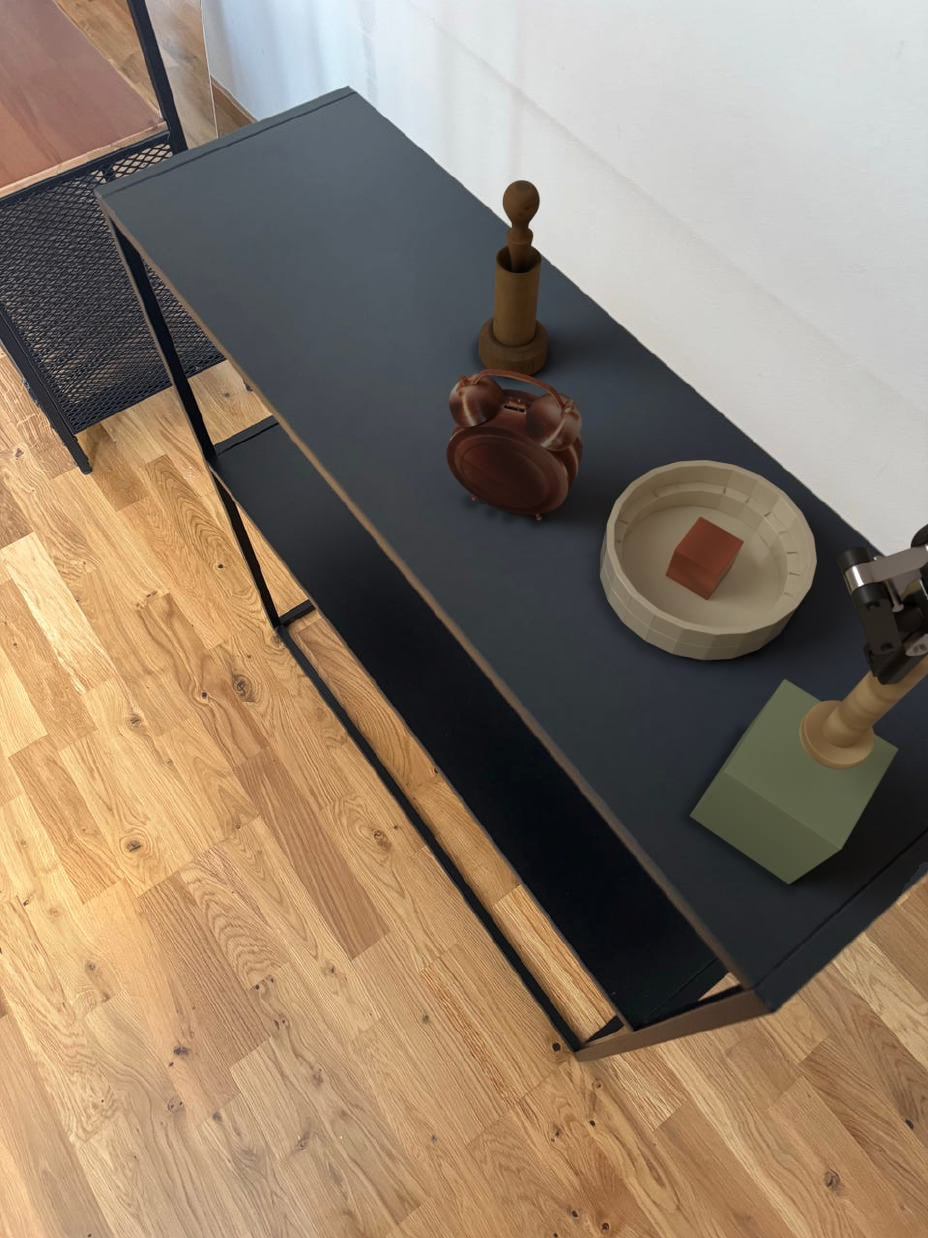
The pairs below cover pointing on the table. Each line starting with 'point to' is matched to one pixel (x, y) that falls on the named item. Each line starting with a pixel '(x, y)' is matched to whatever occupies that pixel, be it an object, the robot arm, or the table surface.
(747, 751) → the stand
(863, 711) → the stick
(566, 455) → the alarm clock
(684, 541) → the block
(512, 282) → the mortar and pestle
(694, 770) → the table surface
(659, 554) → the bowl
